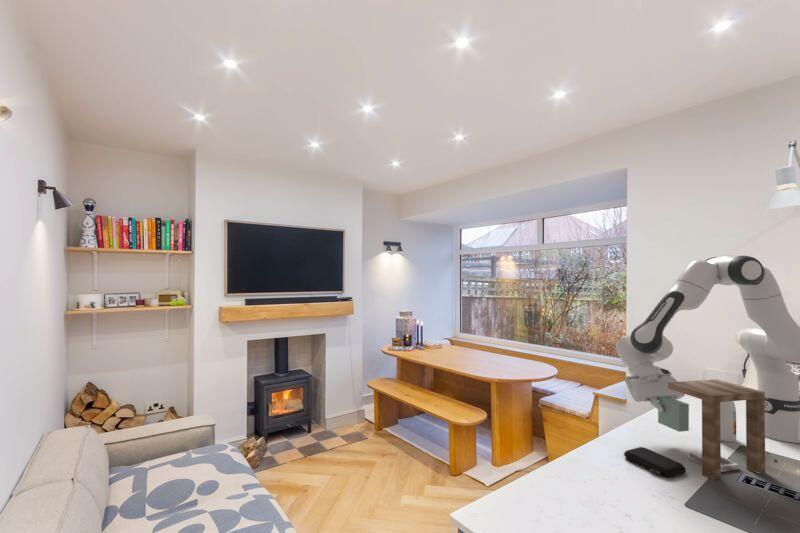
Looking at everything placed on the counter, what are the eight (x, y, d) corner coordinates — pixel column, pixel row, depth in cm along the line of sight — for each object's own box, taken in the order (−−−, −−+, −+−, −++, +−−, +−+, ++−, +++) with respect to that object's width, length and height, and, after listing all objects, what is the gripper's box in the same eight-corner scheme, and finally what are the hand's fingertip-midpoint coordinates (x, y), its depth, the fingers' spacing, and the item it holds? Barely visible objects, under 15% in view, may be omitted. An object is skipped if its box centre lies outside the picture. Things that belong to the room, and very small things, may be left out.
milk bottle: (730, 444, 133) (729, 386, 134) (704, 436, 140) (703, 381, 141) (740, 440, 137) (740, 384, 137) (714, 432, 144) (714, 379, 144)
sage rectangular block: (667, 421, 137) (667, 396, 137) (688, 430, 129) (688, 404, 129) (658, 422, 136) (658, 397, 136) (679, 431, 128) (679, 404, 128)
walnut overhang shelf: (716, 451, 128) (716, 379, 128) (765, 472, 114) (764, 391, 115) (668, 457, 123) (668, 382, 124) (712, 479, 110) (712, 395, 110)
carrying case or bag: (618, 459, 122) (665, 482, 109) (618, 449, 122) (665, 471, 109) (641, 453, 126) (689, 475, 113) (641, 444, 126) (689, 465, 113)
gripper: (627, 372, 139) (650, 408, 129) (673, 370, 144) (698, 405, 134) (618, 381, 143) (639, 416, 134) (662, 378, 148) (686, 413, 138)
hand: (669, 411), depth 134 cm, fingers closed on sage rectangular block, 4 cm apart
